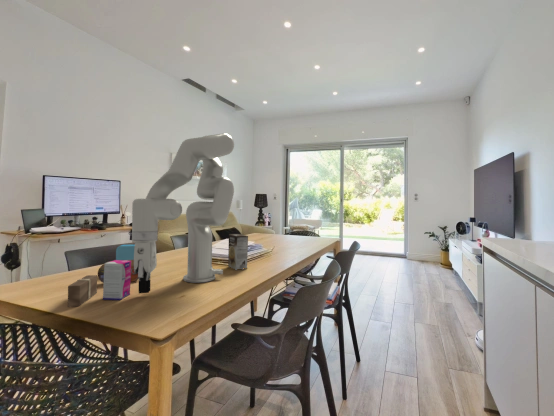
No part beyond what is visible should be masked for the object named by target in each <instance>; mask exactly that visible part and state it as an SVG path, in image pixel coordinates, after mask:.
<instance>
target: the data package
mask: <svg viewBox="0 0 554 416" xmlns="http://www.w3.org/2000/svg"><path fill="white" fill-rule="evenodd" d="M134 248H135V244H121V245H119V246H117V247H116V249H115V260H134Z"/></svg>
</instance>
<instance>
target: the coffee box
mask: <svg viewBox="0 0 554 416" xmlns="http://www.w3.org/2000/svg"><path fill="white" fill-rule="evenodd" d="M248 248H249V236H248V235H245V234H240V233H229V234H228V256H227V259H228V262H227V264H228V265H227V267H228V266H229V267H228V268H230V267H231V269H232V268H233V270H234V269H235V271H238V270H237V269H242V270H244V269H243V268H247V269H248V254H249V253H248V252H249V249H248Z"/></svg>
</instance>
